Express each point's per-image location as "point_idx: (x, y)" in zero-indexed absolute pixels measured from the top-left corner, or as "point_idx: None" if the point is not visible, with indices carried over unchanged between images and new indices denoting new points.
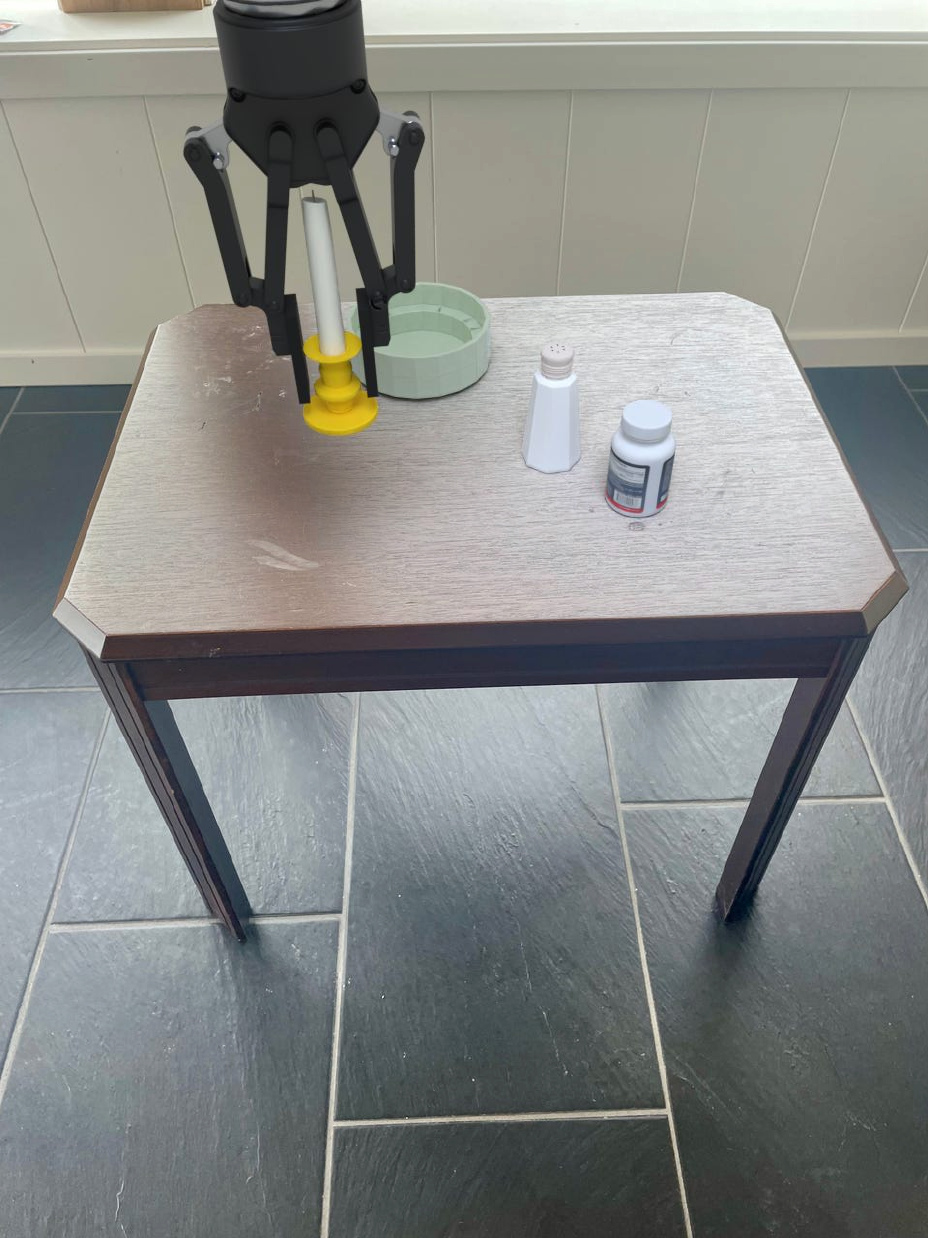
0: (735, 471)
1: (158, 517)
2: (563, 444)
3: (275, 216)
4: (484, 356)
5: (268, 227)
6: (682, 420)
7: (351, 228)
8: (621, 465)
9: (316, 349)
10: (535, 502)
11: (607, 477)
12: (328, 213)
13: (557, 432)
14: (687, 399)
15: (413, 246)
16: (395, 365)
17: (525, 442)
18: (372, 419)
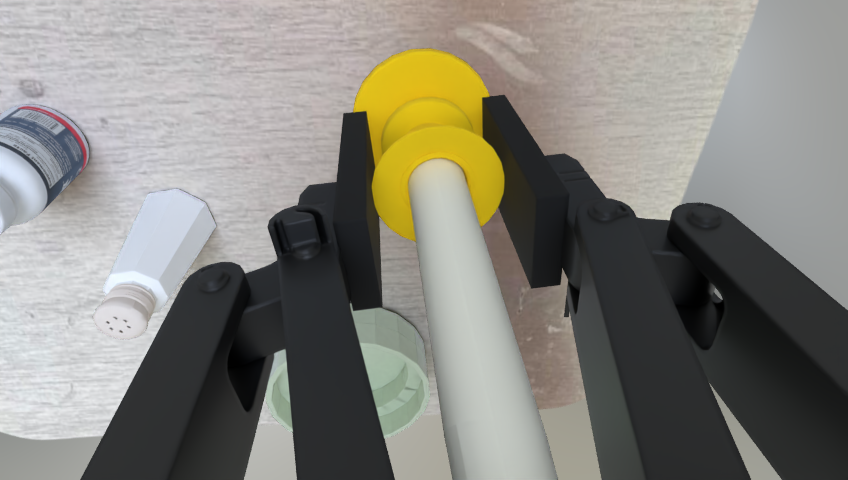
0: None
1: (642, 126)
2: (145, 215)
3: (702, 458)
4: (274, 355)
5: (710, 412)
6: (23, 274)
7: (359, 429)
8: (24, 149)
9: (474, 183)
10: (183, 138)
11: (73, 159)
12: None
13: (147, 225)
14: (27, 306)
15: (137, 380)
16: (371, 334)
17: (204, 228)
18: (360, 89)
